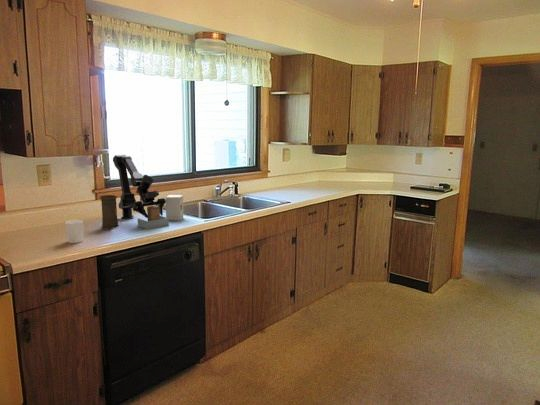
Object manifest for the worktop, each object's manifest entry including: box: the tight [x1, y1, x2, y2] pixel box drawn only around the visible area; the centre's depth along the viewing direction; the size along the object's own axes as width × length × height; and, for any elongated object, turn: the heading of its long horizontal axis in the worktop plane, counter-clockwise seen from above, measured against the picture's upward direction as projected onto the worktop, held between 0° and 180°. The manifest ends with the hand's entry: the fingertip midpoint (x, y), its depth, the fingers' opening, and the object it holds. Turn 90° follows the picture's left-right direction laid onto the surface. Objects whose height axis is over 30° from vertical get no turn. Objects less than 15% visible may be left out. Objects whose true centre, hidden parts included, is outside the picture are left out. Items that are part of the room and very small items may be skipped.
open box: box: [137, 215, 170, 230], centre depth 230 cm, size 10×14×5 cm
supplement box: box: [165, 194, 184, 221], centre depth 247 cm, size 9×9×15 cm
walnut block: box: [146, 205, 161, 221], centre depth 229 cm, size 5×5×11 cm
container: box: [99, 194, 120, 230], centre depth 226 cm, size 9×9×18 cm
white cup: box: [65, 219, 84, 244], centre depth 199 cm, size 8×8×10 cm
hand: (154, 216), depth 228 cm, fingers open, 9 cm apart
